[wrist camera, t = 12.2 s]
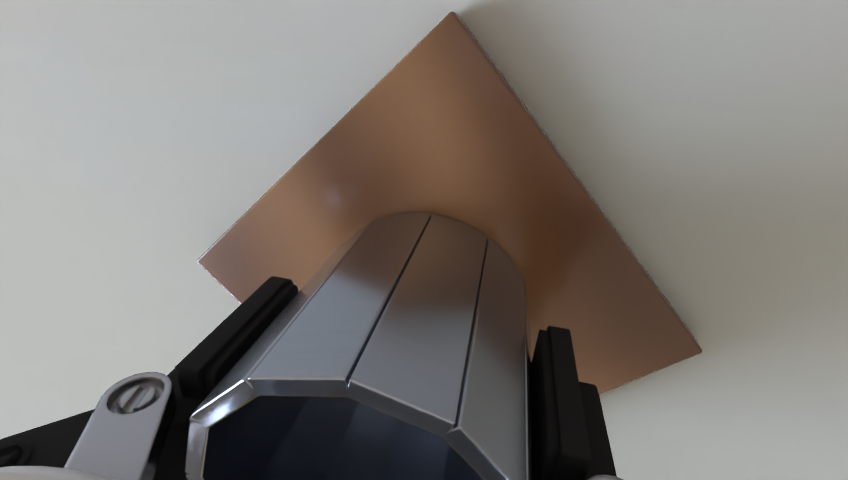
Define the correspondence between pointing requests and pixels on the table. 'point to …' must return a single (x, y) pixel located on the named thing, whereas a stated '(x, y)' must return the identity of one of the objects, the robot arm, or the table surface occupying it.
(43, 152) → the table surface
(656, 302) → the coaster mat
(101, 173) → the table surface
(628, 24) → the table surface
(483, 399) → the cup
